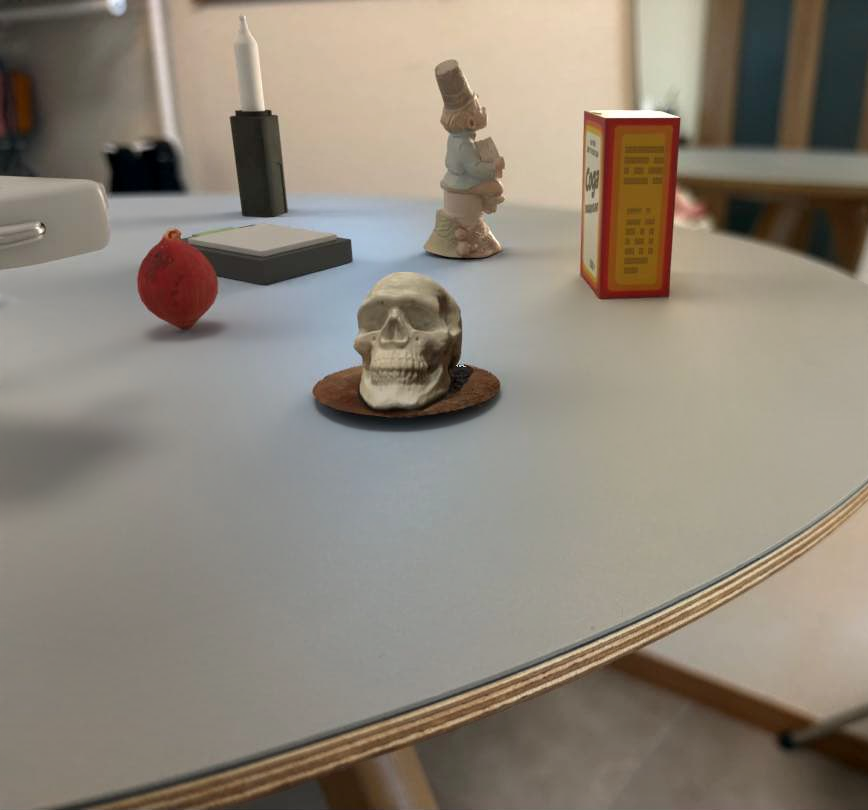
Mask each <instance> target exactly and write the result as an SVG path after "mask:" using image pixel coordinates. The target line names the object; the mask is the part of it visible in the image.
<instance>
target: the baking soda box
mask: <svg viewBox="0 0 868 810" xmlns="http://www.w3.org/2000/svg"><path fill="white" fill-rule="evenodd" d="M681 119H682V118H681V117H680V116H677V115H673V114H671V113H668V112H664V111H658V110H657V111H655V110H625V109H624V110H623V109H622V110H621V109H620V110H619V109H618V110H617V109H598V110H584V111H583V137H582V143H583V144H582V175H581V177H582V178H581V180H582V183H581V217H580V219H581V221H580V223H581V224H580V230H581V231H580V258H579V259H580V263H579V264H580V265H579V274H580V276H581V277H582V278H583V279H584V281H585V282H586V283H587V285H588V286H589V287H590V289H592V291H593V292H594V294H595V295H596V296H597V298H598V299H600V300H601V299H602V300H603V299H604V300H605V299H627V298H628V299H629V298H633V299H634V298H660V297H661V298H662V297H663V298H664V297H670V285H671V284H670V283H671V271H672V270H671V269H672V257H673V256H672V254H673V242H674V241H673V239H674V227H675V226H674V225H675V211H676V209H675V207H676V193H677V179H678V165H679V163H678V162H679V148H680V133H681V131H680V130H681Z"/></svg>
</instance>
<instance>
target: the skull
mask: <svg viewBox="0 0 868 810" xmlns="http://www.w3.org/2000/svg"><path fill="white" fill-rule="evenodd" d="M461 313H462V310H461V307H460V306H459V304H458V303H457V301H456V300H455V298H454V296H452V295H451V294H450V293H449V292H448V291H447V290H446V289H445V288H444V287H443V286H442V285H441V284H440V283H439V282H437V281H436V280H434V279H433V278H431V277H429V276H426V275H424V274H421V273H419V272H418V273H417V272H412V271H397V272H392V273H390V274H387V275H385V276H384V277H382V278H381V279H380V280H378V281H377V282H376V283H375V284H373V286H372V287H371V289H370V290H369V292H368V293H367V295H366V297H365V298H364V300H363V302H361V304H360V306H359V308H358V310H357V313H356V319H357V328H358V332H357V335H356V337H355V339H354V342H353V349H354V350H355V352H356V353H358V355H359V356H360V357H361V359H362V360H361V361H362V363H361V364H362V365H357V366H353V367H352V366H351V367H349V368H345V369H343V370H342V369H341V370H339V371H335V372H333V373H331V374H327V375H326V376H325V377H323V378H322V379H320V380H318V381H317V382H316V383H315V385H313V388H312V394H313V397H314V399H315V400H316V401H318V402H319V403H321V404H323V405H326V408H328V409H330V408H332V409H335V410H337V411H342V412H347V413H352V414H353V413H354V414H356V415H365V416H374V417H383V418H384V417H385V418H391V419H393V418H394V417H396V418H397V417H398V418H399V419H401V418H414V417H422V416H426V415H427V416H429V415H436V414H440V413H445V414H446V413H450V412H452V411H454V412H455V411H456V412H459V410H460V411H461V410H464V409H466V408H467V410H470V407H471V408H477V406H478V407H481V406H482V403H483V402H489V399H494V397H495V395H496V394H498V392H499V391H500V389H501V382H500V379H499V378H498V377H497V375H494V374H493V373H492V372H491V371H488V370H486V369H484V368H480V367H479V368H478V367H477V366H475V365H471V364H466V363H464V364H463V365H464V366H466V367H463V366H461V367H459V365H461V364H460V363H459V361H460V360H461V356H462V346H463V320H462V315H461ZM457 364H459V365H458V367H457V366H456V365H457Z"/></svg>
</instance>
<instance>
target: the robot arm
mask: <svg viewBox="0 0 868 810" xmlns="http://www.w3.org/2000/svg"><path fill="white" fill-rule="evenodd" d="M108 208H109V202H108V197H107V192H106V187H105V185H104V184H103V183H102V182H99V181H95V180H92V179H85V178H84V179H83V178H65V177H64V178H61V177H41V176H39V177H37V176H36V177H35V176H17V175H14V176H13V175H0V271H3V270H4V271H5V270H12V269H19V268H25V267H30V266H35V265H41V264H45V263H51V262H55V261H59V260H63V259H64V260H65V259H68V258H72V257H76V256H81V255H86V254H89V253H94V252H97V251H101V250H103V249H105V248H106V247H107V246H108V245H109V243H110V241H111V226H110V219H109V212H108Z"/></svg>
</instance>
